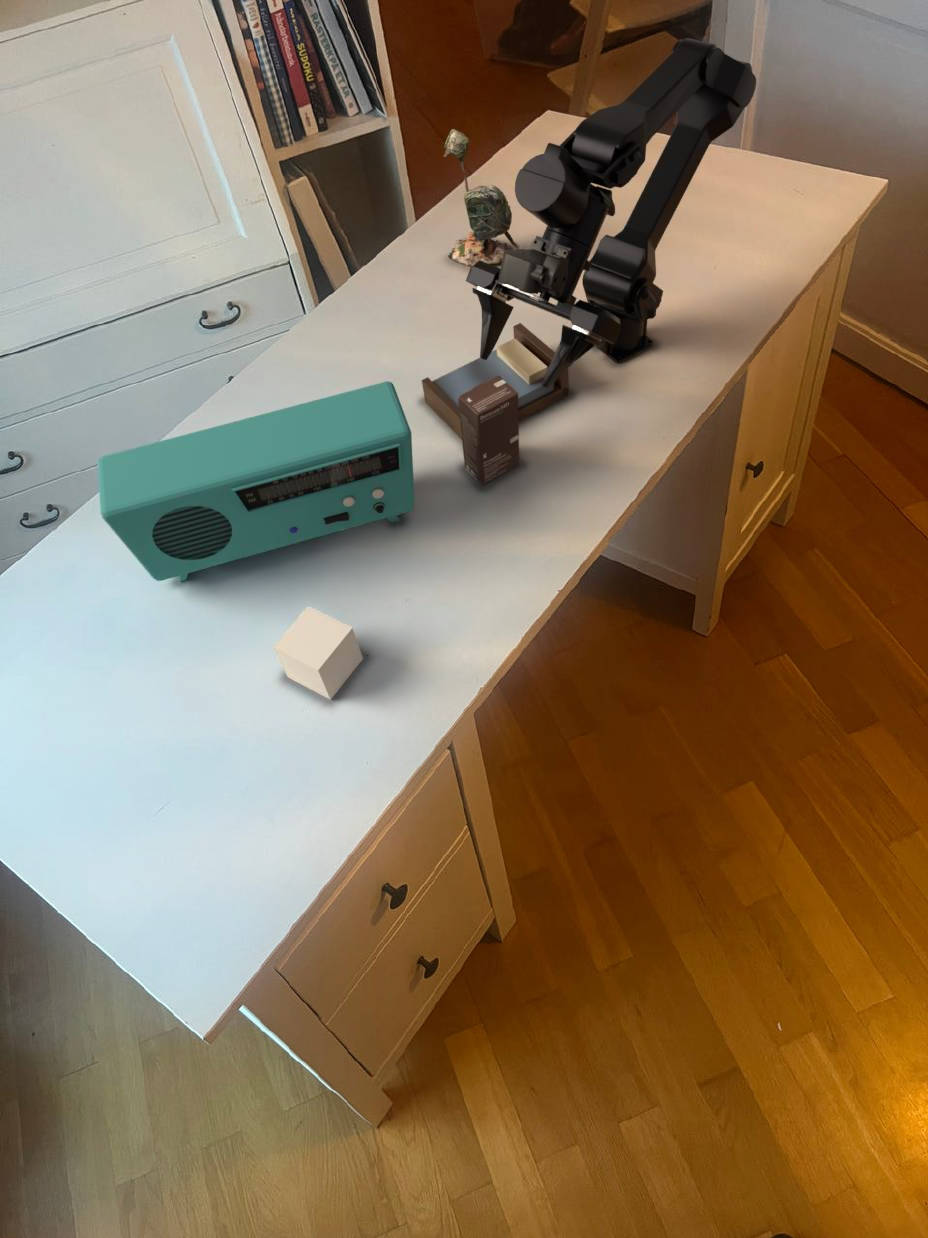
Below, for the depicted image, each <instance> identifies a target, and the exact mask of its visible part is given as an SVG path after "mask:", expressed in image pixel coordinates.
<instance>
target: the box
mask: <svg viewBox="0 0 928 1238" xmlns="http://www.w3.org/2000/svg"><path fill="white" fill-rule="evenodd" d="M458 403H459V413H460V424H461V433H462V440H461V442H462V454H463V464H464V469H465V470H466V471H467V472H468V473H469V474H470V475H471V476H472V477H473V478H474V479H475V480H476V481H477V482H478V483H479V484H480V485H481V486H485V485H487V484H489V483H491V481H493V480H495V479H497V478H498V477H500V476H502V475H504V474H506V473H508V472H509V471H511V470H513V469H514V468H516V467H518V466H520V429H519V427H520V426H519V421H518V393H517V392H516V391H515V390H514V389H513V388H512V387H511V386H510V385H509V384H507V383H506V382H505V381H504V380H503V379H502V378H501V377H500V376H496V377H494V378H492V379H491V380H489V381H487V382H484V383H481V384H479V385H477V386H475V387H474V388H473V389H471V390H470V391H468V392H466V393H464V394H462V395H460V396H458Z"/></svg>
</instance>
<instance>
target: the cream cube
mask: <svg viewBox="0 0 928 1238" xmlns="http://www.w3.org/2000/svg"><path fill="white" fill-rule="evenodd" d="M272 649H273V650H274V652H275V655H276V656H277V658H278V660H279V662H280V665H281V667H282V669H283V670H284V673H285V674H286V677H287V678H289V679H290V680H292V681H294V682H296V683H298V684H300V685H301V686H304V687H305V688H307V689H309V690H311V691H313V692H315V693H317V694H319V695H320V696H322V697H325V698H326V699H328V700H330V701H332V699H333V698H334V697H335V695H336V694H337V693H338V691H339V690H340V689H341V688H342V686H343V685H344V684H345V682H346V681H347V680H348V678H349V677H350V676H351V675H352V673H353V672H354V671H355V670H356V668H357V667H358V666H359V665H360V663H361V662H362V661H363V659H364V657H363V654H362V651H361V649H360V646H359V642H358V639H357V637H356V634H355V631H354V628H353V627H352V626H350V625H348V624H346V623H344V622H341V621H340V620H338V619H336V618H333V617H331V616H329V615H327V614H325V613H323V612H321V611H319V610H317V609H315V608H314V607H311V606H309V605H307V606H306V607H305V609H304V610H303V611H302V612H301V613H300V614H299V616H297V618H296V619H295V621H294V622H293V623H291V625H290V626H289V627H288V629H287V630H286V631H284V633H283V634H282V636H281V637H280V638H279V639H278V640H277V641H276V643H275V644H274V645H273V646H272Z"/></svg>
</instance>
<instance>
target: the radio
mask: <svg viewBox="0 0 928 1238" xmlns="http://www.w3.org/2000/svg"><path fill="white" fill-rule="evenodd" d="M412 440H413V439H412V430H411V428H410V424H409V423H408V420H407V417H406V415H405V412H404V409H403V406H402V404H401V401H400V398H399V396H398V392H397V390H396V388H395V385H394V383H393V382H391V381H383V382H380V383H375V384H372V385H368V386H364V387H360V388H357V389H353V390H349V391H344V392H341V393H338V394H333V395H330V396H326V397H321V398H319V399H315V400H311V401H307V402H304V403H299V404H295V405H292V406H289V407H285V408H281V409H277V410H273V411H270V412H266V413H262V414H258V415H255V416H251V417H247V418H243V419H238V420H236V421H232V422H228V423H224V424H220V425H217V426H213V427H208V428H204V429H201V430H198V431H193V432H190V433H187V434H183V435H182V434H181V435H179V436H175V437H171V438H168V439H167V438H166V439H164V440H159V441H156V442H153V443H148V444H144V445H141V446H137V447H133V448H128V449H125V450H121V451H118V452H114V453H111V454H107V455H103V456H100V457H99V458H98V461H97V475H98V491H99V494H98V495H99V509H100V515H101V518H102V519H103V520H104V522H105V523H106V524H107V526H108V527H109V528H110V529H111V530H112V532H113V533H114V534H115V535H116V536H117V537H118V538H119V540H120V541H121V542H122V543H123V545H124V546H125V547H126V548H127V549H128V550H129V552H130V553H131V554H132V555H133V556H134V557H135V559H136V560H137V561H138V562H139V564H141V566H142V567H143V568H144V570H146V572H147V573H148V574H149V575H150V576H151V578H152V579H154V580H155V581H157V582H161V581H166V580H169V579H172V578H177V577H178V579H179V580H178V581H179V582H183V581H186V580H187V579H188V575H189V574H190V573H193V572H197V571H201V570H204V569H208V568H212V567H215V566H219V565H222V564H226V563H229V562H233V561H237V560H240V559H244V558H248V557H251V556H255V555H259V554H262V553H265V552H270V551H273V550H277V549H279V548H284V547H287V546H291V545H295V544H299V543H302V542H305V541H309V540H313V539H316V538H320V537H323V536H326V535H331V534H334V533H337V532H341V531H344V530H348V529H352V528H356V527H360V526H362V525H363V526H364V525H366V524H370V523H374V522H377V521H381V520H384V519H386V520H387V519H388V520H389V521H391V522H392V523H394V522H399V521H400V517H399V516H398V515H402V514H406V513H409V512H411V511H413V510H414V508H415V485H414V484H415V483H414V463H413V462H414V461H413V441H412Z"/></svg>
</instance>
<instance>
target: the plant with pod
mask: <svg viewBox="0 0 928 1238" xmlns="http://www.w3.org/2000/svg"><path fill="white" fill-rule="evenodd" d="M469 145H470V138H469V137H468V136H466V135H465V133H463V132H462V131H460V130H457V129H456V128H452V129H451V130H450V132H449V134H448V136H447V138H446V141H445V143H444V149H445V151H444V154H443V155H442V157H443V158H447V157H448V155H452V156H454V157H455V158H458V159H459V164H460V167H461V171H462V173H463V179H464V185H465V190H466V191H465V193H464V197H463V201H464V205H465V208H466V213H467V217H468V222H469V223H468V224H469V227H470V229H471V230H472V231H469V233H468V234H467V237H466V238H464V239H458V240H456V239H455V241H457V242H456V243H455V245H454V247H452V250H450V252H449V254H448V255H447V257H448V259H450V260H452V261H455V262H456V263H460V264H463V265H465V266H468V265H469V267H470V268H471V267H472V266H473V265H474V264H476V263H477V262H478V261H479V260H480V261H483V262H485V263H488V264H491V265H494V264H495V265H496V264H500V263H502V259H503V254H504V251H508V250H509V249H510V247H509V244H508V242H503V241H500V240H498V239H496V238H498V236H502V235H504V236H505V237H506V238H507V240H508V241H509V242H510V244H511V245H512V246H513V247H514V248H515V249H516V250H517V249H521V247H520V244H517V242H515V241H514V239H513V237H512V235H511V233H509V231H510V229H511V225H512V221H513V220H512V219H513V213H512V210H511V205H509V201H508V199H507V198H506V195H505V194H504V192H503V191H502V190H501V189H500V188H499V187H498V186H496V185H493V184H489V185H483V184H482V185H478V186H476V187H473V188H472V189H469V183H468V182H469V181H468V178H467V174H466V171H465V160H464V158H465V157H466V156H467V154H468V151H469V150H468V149H469Z"/></svg>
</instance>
